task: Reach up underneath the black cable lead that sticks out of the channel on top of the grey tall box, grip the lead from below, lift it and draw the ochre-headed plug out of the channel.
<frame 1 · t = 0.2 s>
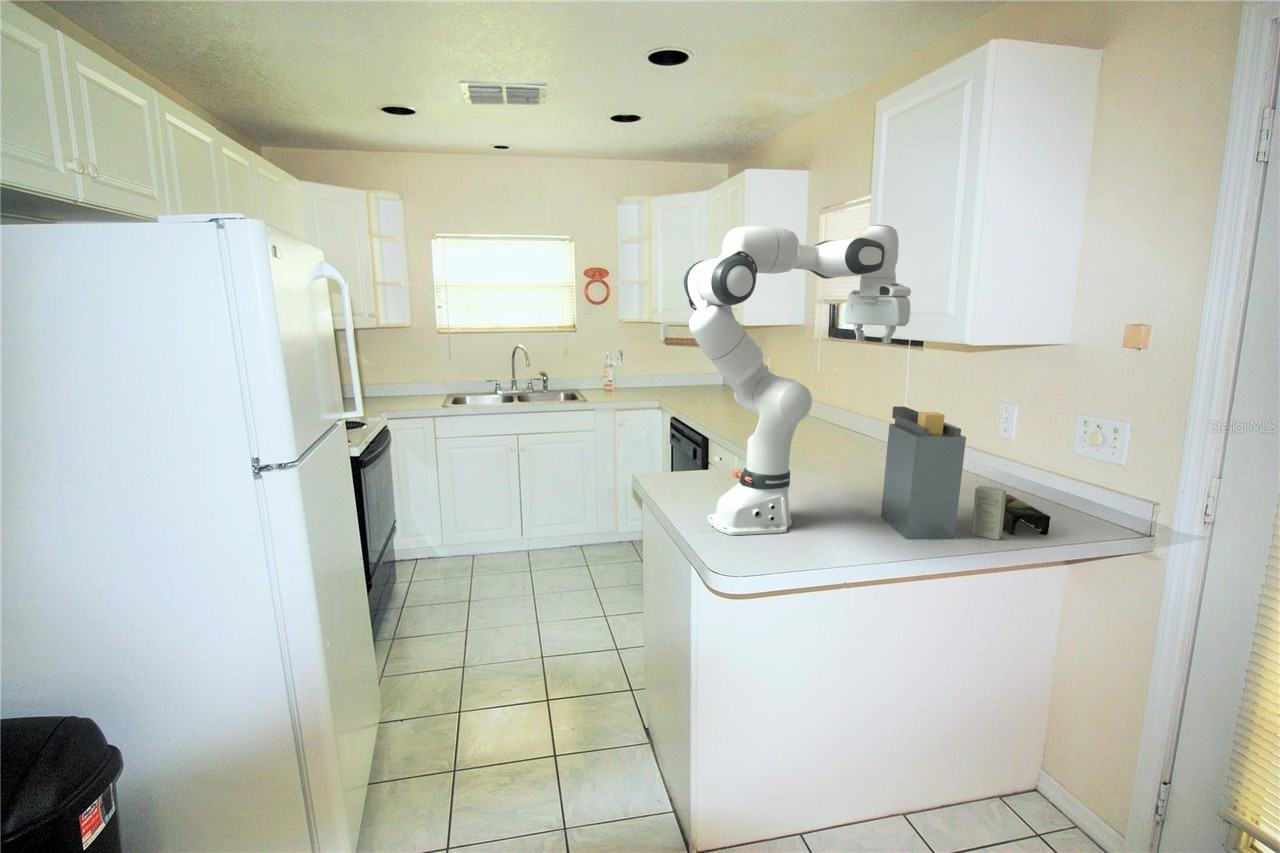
hand: (872, 342, 165), 47 cm above the countertop, tool pointing down, fingers open, 8 cm apart
skincare box: (985, 536, 155), on the countertop
grey tall box: (915, 527, 159), on the countertop
juice carton: (1009, 524, 164), on the countertop
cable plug: (913, 424, 161), point 26 cm above the countertop, touching grey tall box
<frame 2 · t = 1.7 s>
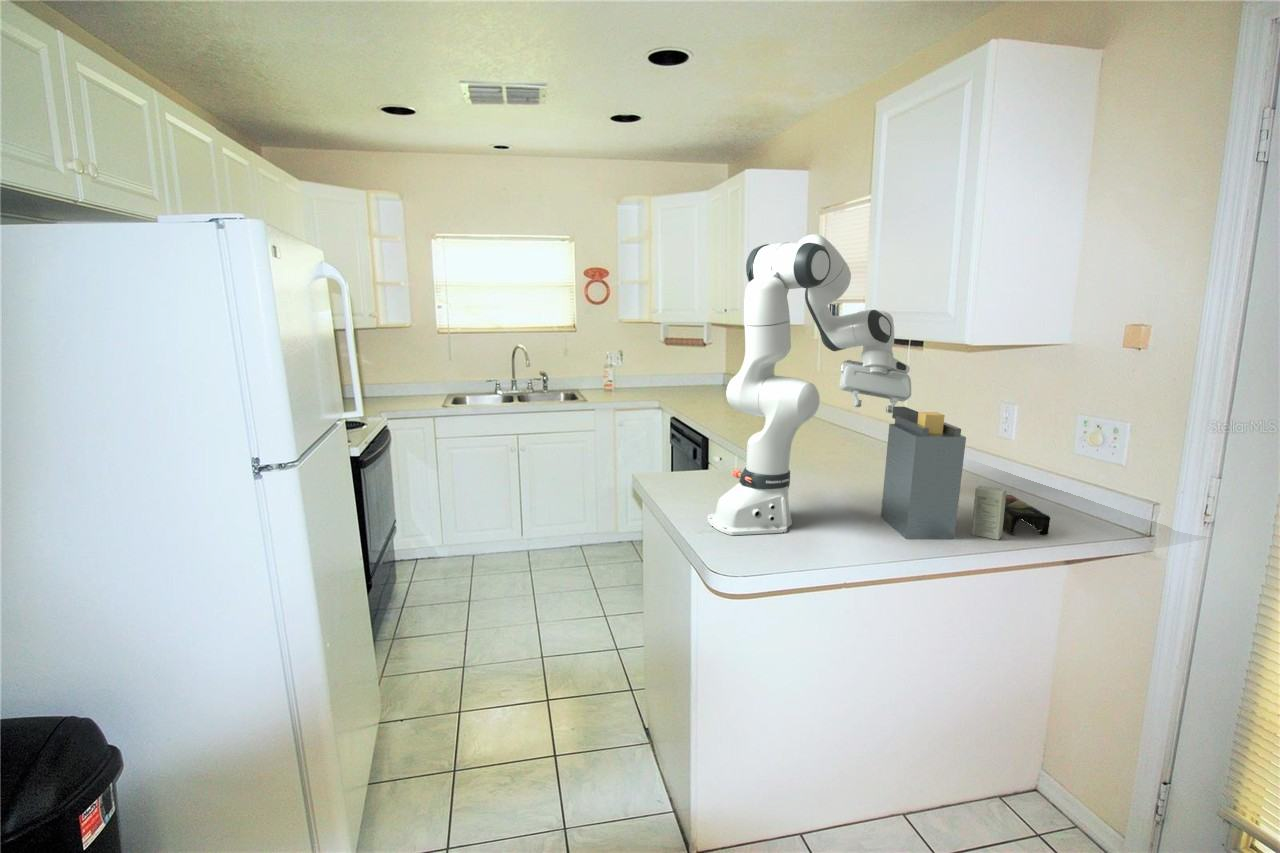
hand: (873, 409, 176), 27 cm above the countertop, tool tilted 30°, fingers open, 8 cm apart
nothing on the countertop moved.
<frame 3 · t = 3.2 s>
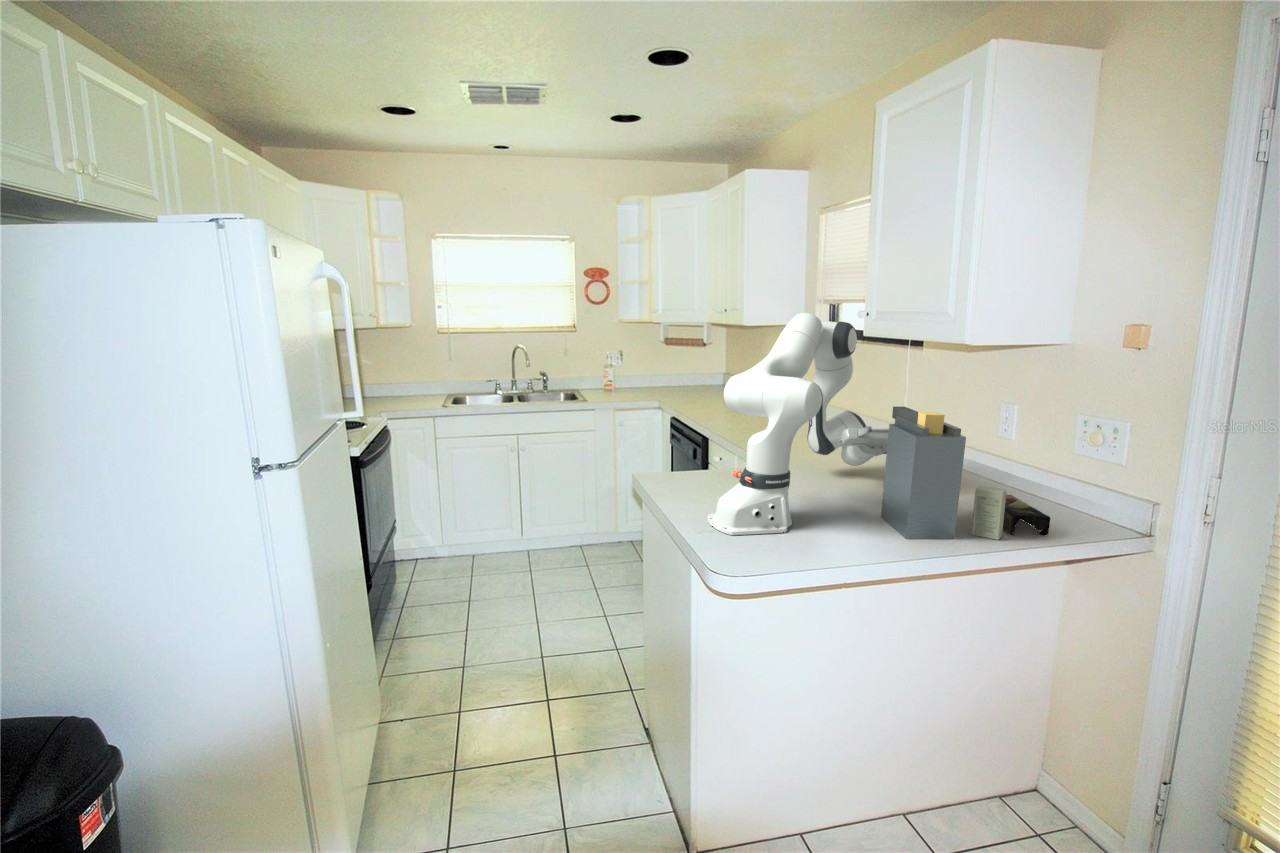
hand: (885, 429, 179), 21 cm above the countertop, tool pointing upward, fingers open, 8 cm apart
nothing on the countertop moved.
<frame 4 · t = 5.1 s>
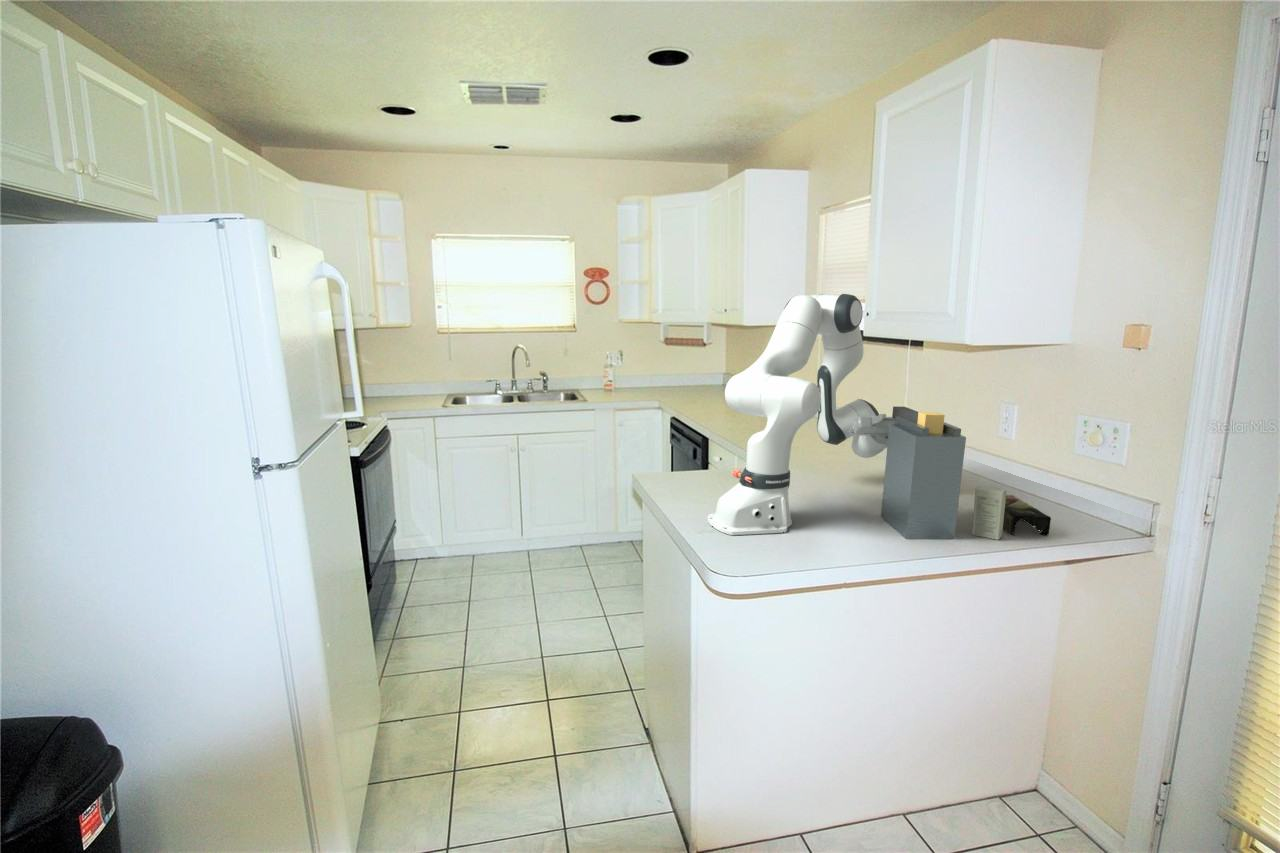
hand: (900, 416, 169), 27 cm above the countertop, tool pointing upward, fingers open, 8 cm apart
nothing on the countertop moved.
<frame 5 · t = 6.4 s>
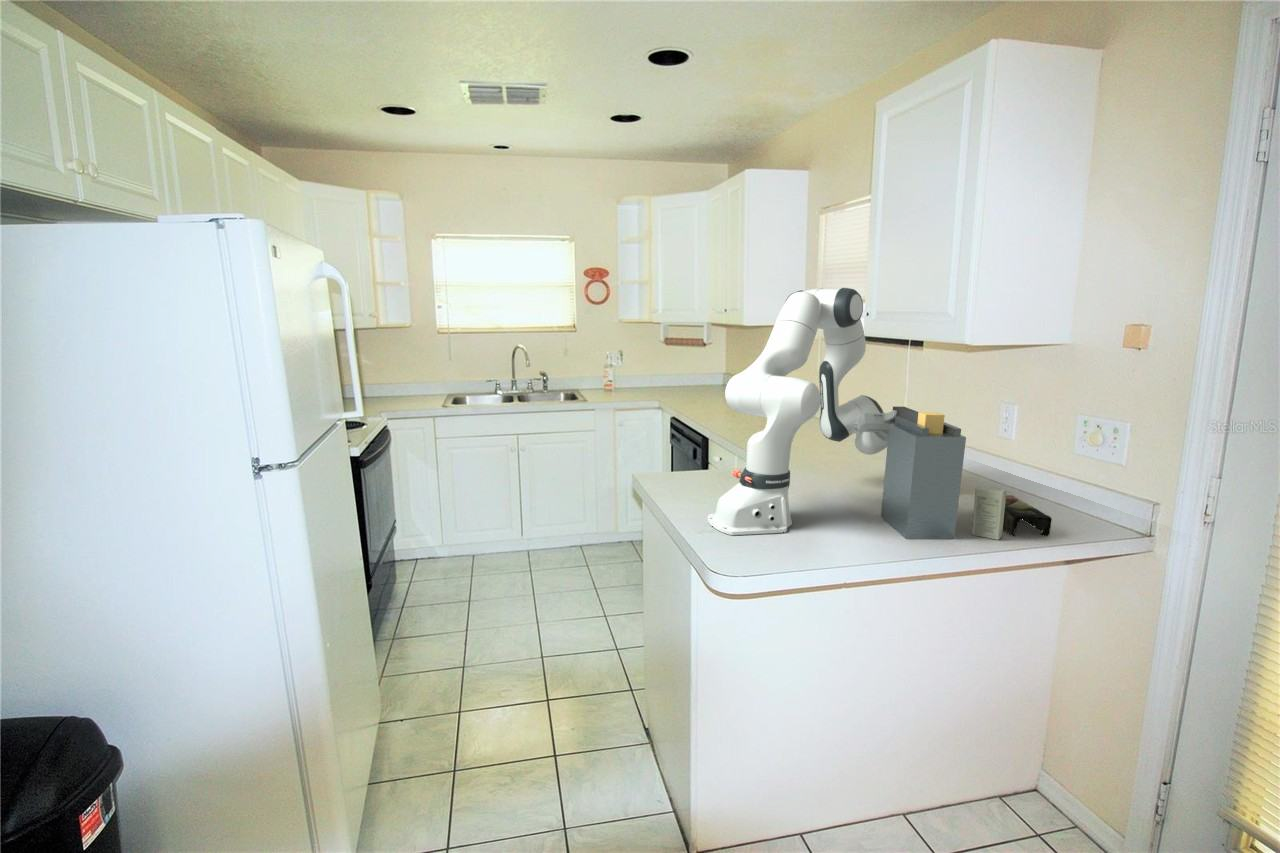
hand: (904, 412, 166), 28 cm above the countertop, tool pointing upward, fingers closed on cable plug, 3 cm apart
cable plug: (913, 424, 161), point 26 cm above the countertop, touching gripper, grey tall box
everything else where it was.
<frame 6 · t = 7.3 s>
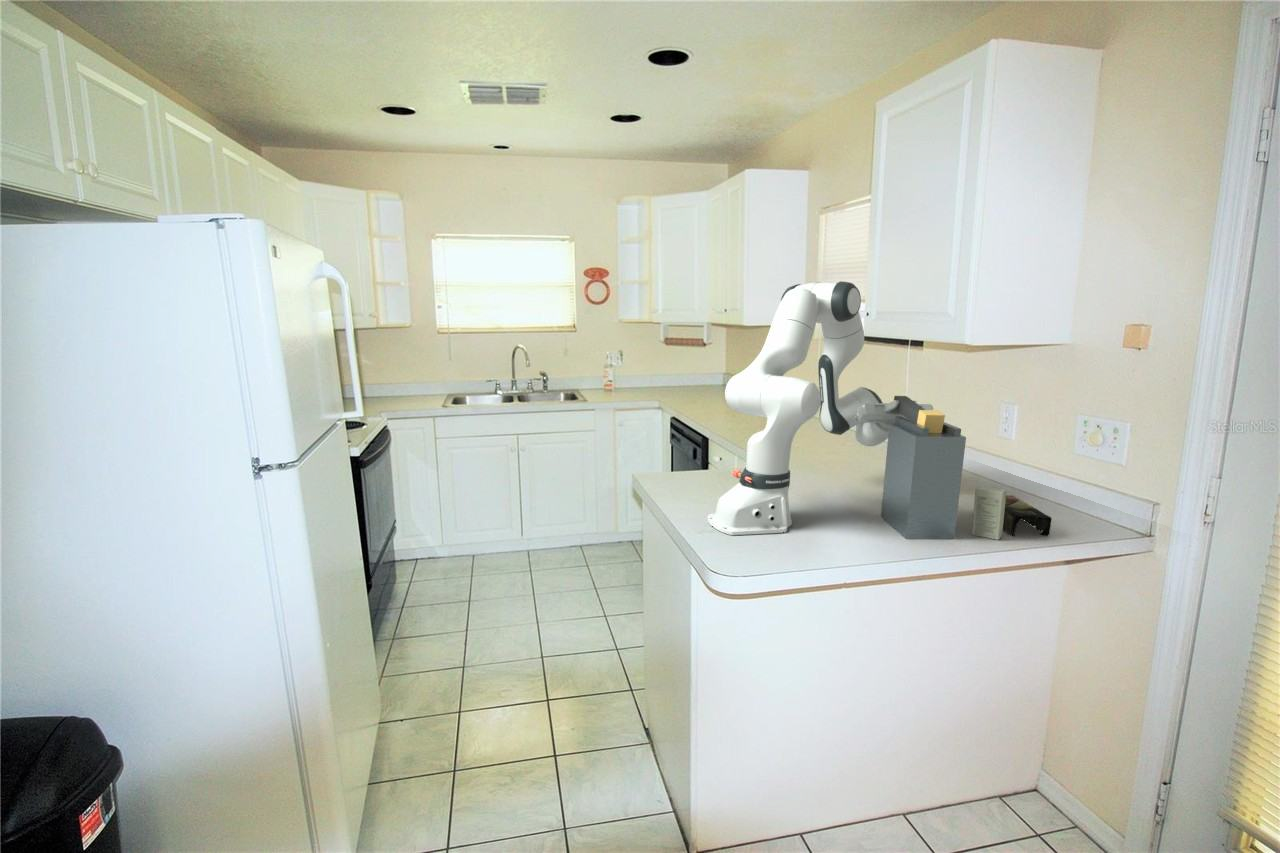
hand: (906, 403, 166), 31 cm above the countertop, tool pointing upward, fingers closed on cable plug, 3 cm apart
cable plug: (913, 418, 161), point 28 cm above the countertop, tilted 8°, touching gripper
everything else where it was.
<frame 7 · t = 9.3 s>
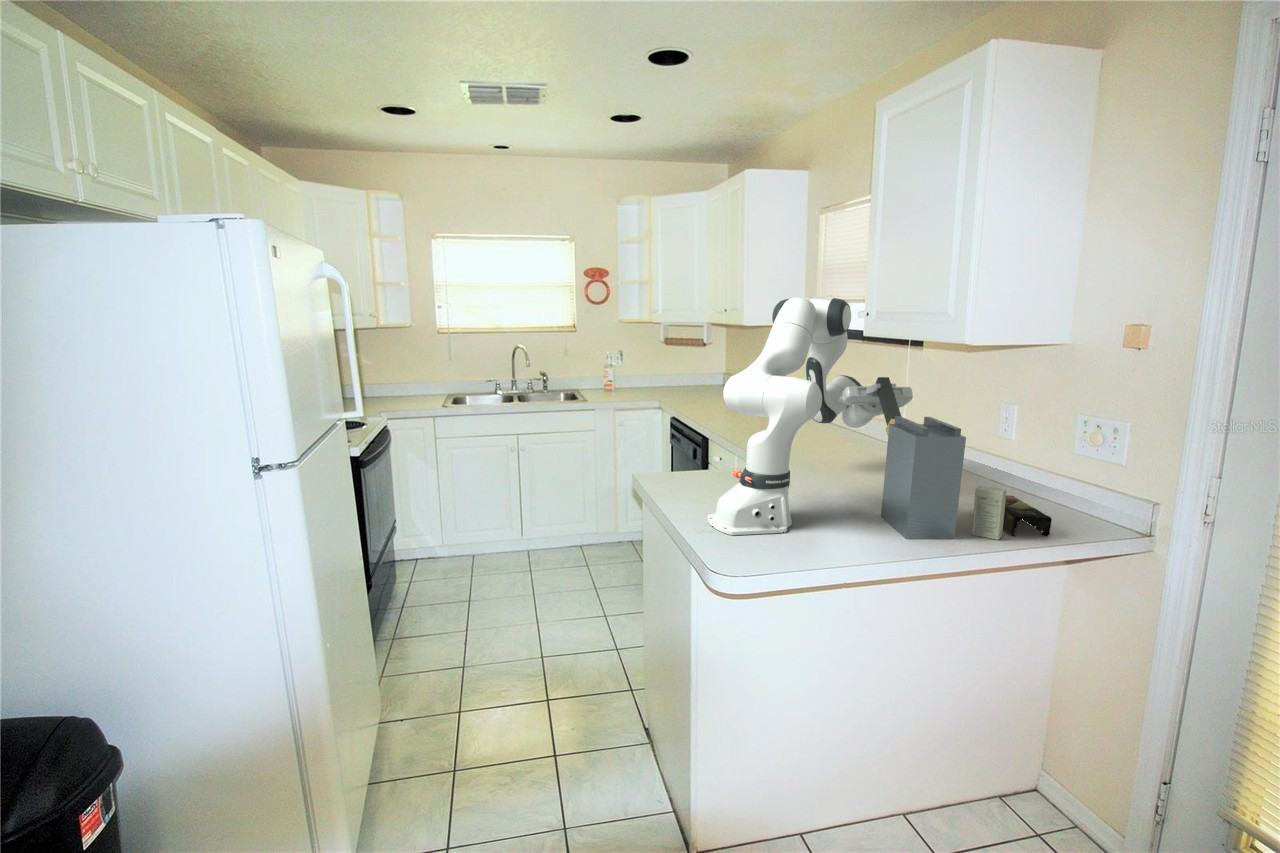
hand: (886, 385, 180), 34 cm above the countertop, tool pointing upward, fingers closed on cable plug, 3 cm apart
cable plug: (887, 410, 178), point 27 cm above the countertop, tilted 41°, touching gripper
everything else where it was.
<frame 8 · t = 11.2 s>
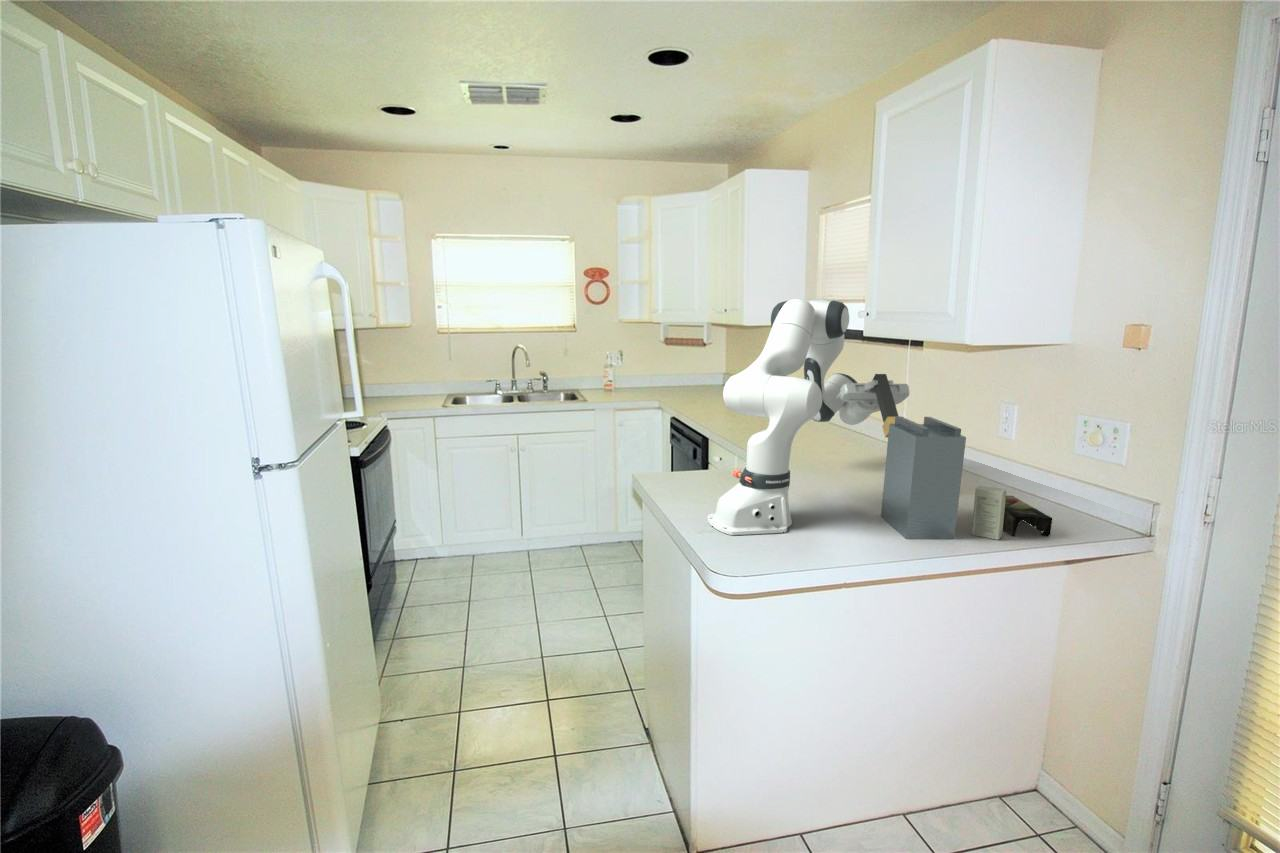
hand: (883, 382, 182), 34 cm above the countertop, tool pointing upward, fingers closed on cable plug, 3 cm apart
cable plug: (884, 406, 180), point 27 cm above the countertop, tilted 43°, touching gripper
everything else where it was.
at the end: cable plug moved 20.0 cm from its start; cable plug touching gripper; the gripper is holding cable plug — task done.
